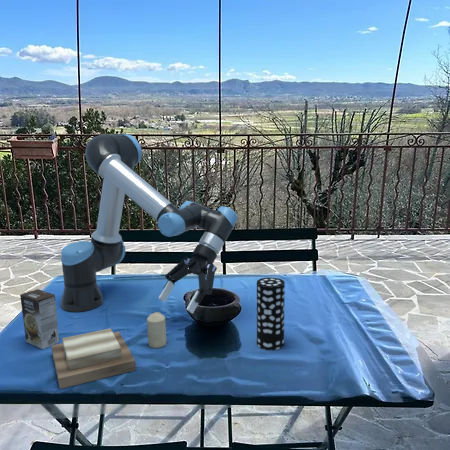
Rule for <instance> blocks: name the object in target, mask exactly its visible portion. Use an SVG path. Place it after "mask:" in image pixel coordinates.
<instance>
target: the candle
mask: <svg viewBox="0 0 450 450" xmlns="http://www.w3.org/2000/svg"><path fill="white" fill-rule="evenodd" d="M146 325H147V338H148V339H147V340H148V346H149V347H150V348H153V349H159V348H163V347H165V346H166V345H167V329H166V328H167V324H166V317H165V315H164V314H162V313H161V312H159V311H157V312H153V313H150V314H149V316H148V317H147V318H146Z"/></svg>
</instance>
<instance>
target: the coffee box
mask: <svg viewBox="0 0 450 450" xmlns="http://www.w3.org/2000/svg"><path fill="white" fill-rule="evenodd" d="M19 297H20V304H21V311H22V320H23V327H24V335H25V337H24V338H25V342H26V343H27V344H29V345H32V346H34V347H37V348H38V349H41V350H44V349H47V348H49V347H52V345H56V344H59V343H60V336H59V335H60V334H59V325H58V315H57V304H56V295H55V294H54V293H50V292H47V291H45V290H41V289H39V288H36V289H34V290H30V291H28V292H25V293H21V294H19Z"/></svg>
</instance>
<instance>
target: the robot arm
mask: <svg viewBox="0 0 450 450" xmlns="http://www.w3.org/2000/svg"><path fill="white" fill-rule="evenodd" d="M142 153H143V152H142V146H141V144H140V143H139V141H138V140H137V138H136V137H134V136H133V135H131V134H126V133H118V134H117V133H116V134H100V135H96V136H94V137H92V138H91V139H90V140H89V141H88V143H87V144H86V148H85V158H86V161H87V164H88V165H89V167H90V168H91V169H92V170H93V171H94V172H95V173H96V174H97V175H98V176H99V177H101V178H103V181H102V188H101V195H100V203H99V209H98V210H99V211H98V216H97V223H96V230H95V231H93V232H92V233H91V236H90V237H91V238H90V241H89V240H80V241H78V242H77V241H75V242H72V243H68V244H66V245H65V246H64V247H63V248H62V250H61V259H60V261H61V266H62V274H63V277H62V278H63V285H64V287H63V292H62V297H61V300H60V305H61V309H62V310H64V311H66V312H72V313H73V312H74V313H79V312H86V311H90V310H94V309H97V308H99V307H100V306H101V305H102V304H103V303H104V299H103V294H102V292H101V289H100V287H99V286H98V281H97V273H99V272H101V271H103V270H106V269H108V268H111V267H114V266H116V265H117V264H119V263H121V262H122V260H124V257H125V255H126V246H125V244H124V240H123V238H122V237H123V236H122V235H121V234H120V233H119V232H120V227H121V221H122V214H123V207H124V203H125V202H124V201H125V196H127V197H129V199H131V200H132V201H133V202H134V203H135V204H136V205H137V206H139V207H140V208H141V209H142V210H143V211H145V212H146V213H147V214H148V215H150V217H151V218H153V219H154V220H155V221H157V228H158V229H159V232H160V233H161V235H163V236H165V237H168V238H170V237H175V236H179V235H182V234H183V233H185V232H188V231H190V230H193V229H195V228H198V229H201V230H203V231H204V233H203V235H202V236H201V237H200V240H199V241H198V244H197V245H196V246H195V248H194V249H193V251H192V257H191V258H189V257H188V256H187V255H185V256H184V257H183V258H182V259H181V260H180V262H178V263H177V264H176V265H175V266H174V267H173V268H171V270H169V271H168V272H167V273H166V274H165V276H164V278H166V280H167V281H166V283H165V284H164V286H163V287H162V288H163V289H162V291H161V293H160V294H159V296H158V299H159V300H161V302H163V303H166V302H167V300H168V297H169V296H170V294H171V292H172V291H173V290H174V287H175V286H176V284H175V283H177V282H178V281H180V280H181V279H183V278H184V277H186V276H187V275H192V274H193V275H197V278H198V290H196V291H195V293H194V295H193V296H192V298H191V300H190V302H189V303H188V305H187V308H186V310H187V312H189V313H191V314H194V313H195V311H196V309H197V307H198V306H199V305H200V304H201V303H202V301H203V299H204V297H205V296H207V295H212V294H213V288H214V281H215V273H216V272H217V268H218V267H217V266H216V265H215V264H214V262H215V261H216V259H217V256H218V254H220V252H221V250H222V248H223V246H224V244H225V242H226V241H227V240H228V237H229V236H230V234H231V233H232V231H233V229H234V228H235V226H236V223H237V221H238V215H237V213H236V212H235V210H233V209H232V208H230V207H228V206H224V205H221V206H219V207H218V208H217V210H216V209H215V210H214V209H212V208H209V207H206V206H205V205H202V204H199V203H197V202H195V201H190V200H185V201H184V202H183V203H181V205H180V207H179V208H178V207H177V206H175V205H174V204H173V203H172V202H171V201H169V200H168V199H167V198H166V197H165V196H164V195H162V194H161V193H160V192H159V191H158V190H156V188H154V187H153V186H152V185H150V184H149V183H148V182H147V181H146V180H145V179H143V178H142V177H141V176H140V175H139V174H138V173H137V172H135V171H134V166H135V165H137V164H138V163H139V162H140V161H141V159H142V155H143V154H142Z"/></svg>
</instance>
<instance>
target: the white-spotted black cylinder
mask: <svg viewBox="0 0 450 450" xmlns="http://www.w3.org/2000/svg"><path fill="white" fill-rule="evenodd" d="M285 285H286V283H285V281H284V280H283V279H281V278H278V277H272V276H271V277H262V278H258V279H257V281H256V345H257V347H259V348H260V349H262V350H266V351H276V350H280V349H282V348H283V347H284V344H285V297H286V296H285V293H286V291H285V288H286V286H285Z"/></svg>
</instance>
